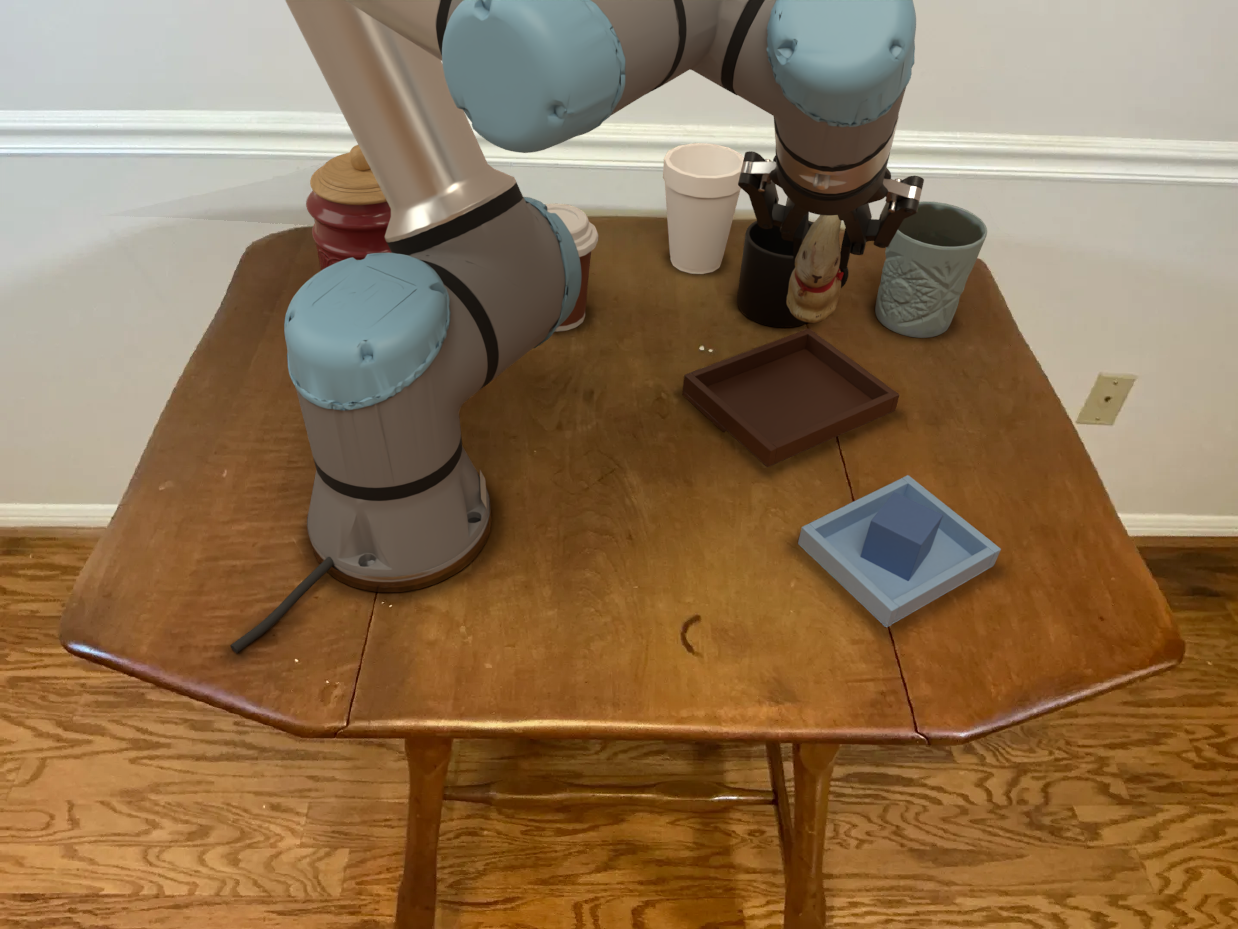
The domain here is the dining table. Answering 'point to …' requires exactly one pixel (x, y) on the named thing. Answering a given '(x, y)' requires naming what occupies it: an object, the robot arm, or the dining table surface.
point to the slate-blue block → (901, 535)
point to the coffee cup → (585, 243)
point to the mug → (768, 277)
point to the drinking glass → (928, 269)
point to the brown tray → (788, 396)
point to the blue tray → (879, 590)
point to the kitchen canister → (347, 210)
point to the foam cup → (700, 203)
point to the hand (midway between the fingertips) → (823, 249)
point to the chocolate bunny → (817, 272)
